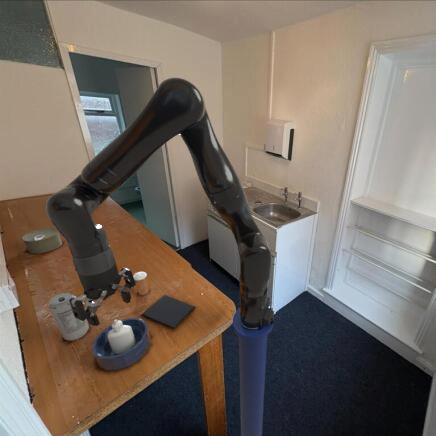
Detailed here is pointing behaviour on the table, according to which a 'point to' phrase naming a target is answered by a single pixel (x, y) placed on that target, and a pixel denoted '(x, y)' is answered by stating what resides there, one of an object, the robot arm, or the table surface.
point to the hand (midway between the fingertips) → (112, 312)
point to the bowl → (125, 359)
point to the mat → (168, 311)
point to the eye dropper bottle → (121, 337)
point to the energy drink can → (67, 317)
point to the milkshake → (141, 282)
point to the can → (42, 240)
